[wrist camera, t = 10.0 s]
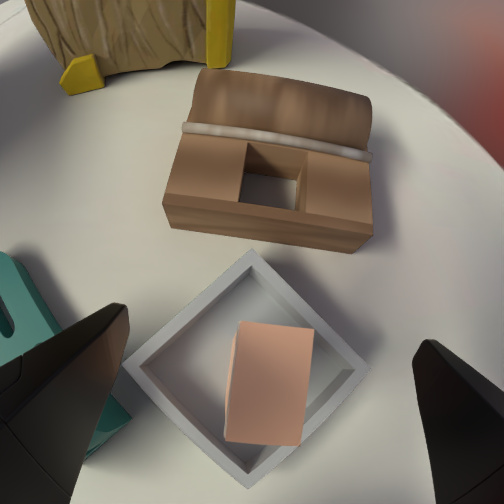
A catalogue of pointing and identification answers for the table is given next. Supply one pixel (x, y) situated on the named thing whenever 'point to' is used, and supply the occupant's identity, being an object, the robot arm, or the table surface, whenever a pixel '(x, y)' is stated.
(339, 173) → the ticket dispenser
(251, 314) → the tray
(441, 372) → the robot arm
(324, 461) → the table surface
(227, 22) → the decorative book
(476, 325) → the table surface
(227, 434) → the peach block
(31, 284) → the bracket
